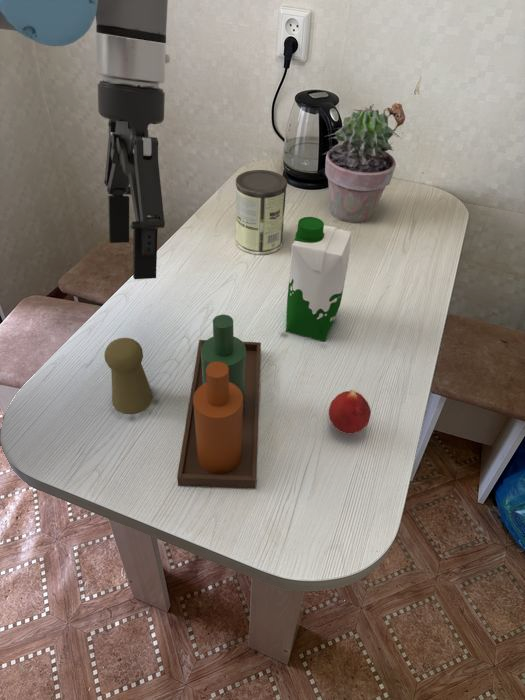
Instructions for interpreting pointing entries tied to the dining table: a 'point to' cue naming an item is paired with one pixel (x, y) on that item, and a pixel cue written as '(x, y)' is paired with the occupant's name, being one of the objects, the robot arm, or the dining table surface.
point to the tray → (247, 468)
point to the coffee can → (260, 211)
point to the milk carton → (316, 277)
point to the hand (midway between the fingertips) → (131, 258)
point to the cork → (128, 376)
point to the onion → (349, 412)
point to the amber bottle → (218, 421)
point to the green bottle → (225, 352)
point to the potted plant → (361, 163)
